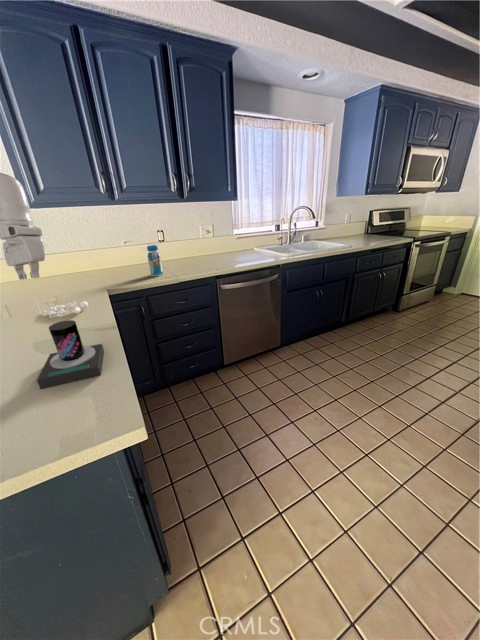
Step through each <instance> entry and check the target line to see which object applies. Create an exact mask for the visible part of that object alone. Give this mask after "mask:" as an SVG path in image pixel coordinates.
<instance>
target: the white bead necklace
mask: <svg viewBox="0 0 480 640" xmlns="http://www.w3.org/2000/svg"><path fill="white" fill-rule="evenodd" d="M77 302H78V301H77V300H75V301H73V302H69V303H66V305H64V304H59V305H57V304H55V305H54V306H50V307H48V308H45V309H44V311H42V313H41V317H44V318H45V317H48V316H49V318H55V317H64V316H67V315H69V314H75V315H79V314H80V313H81V312H82V311H81V310H86V309H88V308H89V303H88V301H84V300H83V301H80V302H79V304H77ZM67 309H68V310H67ZM71 309H72V310H71Z"/></svg>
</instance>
